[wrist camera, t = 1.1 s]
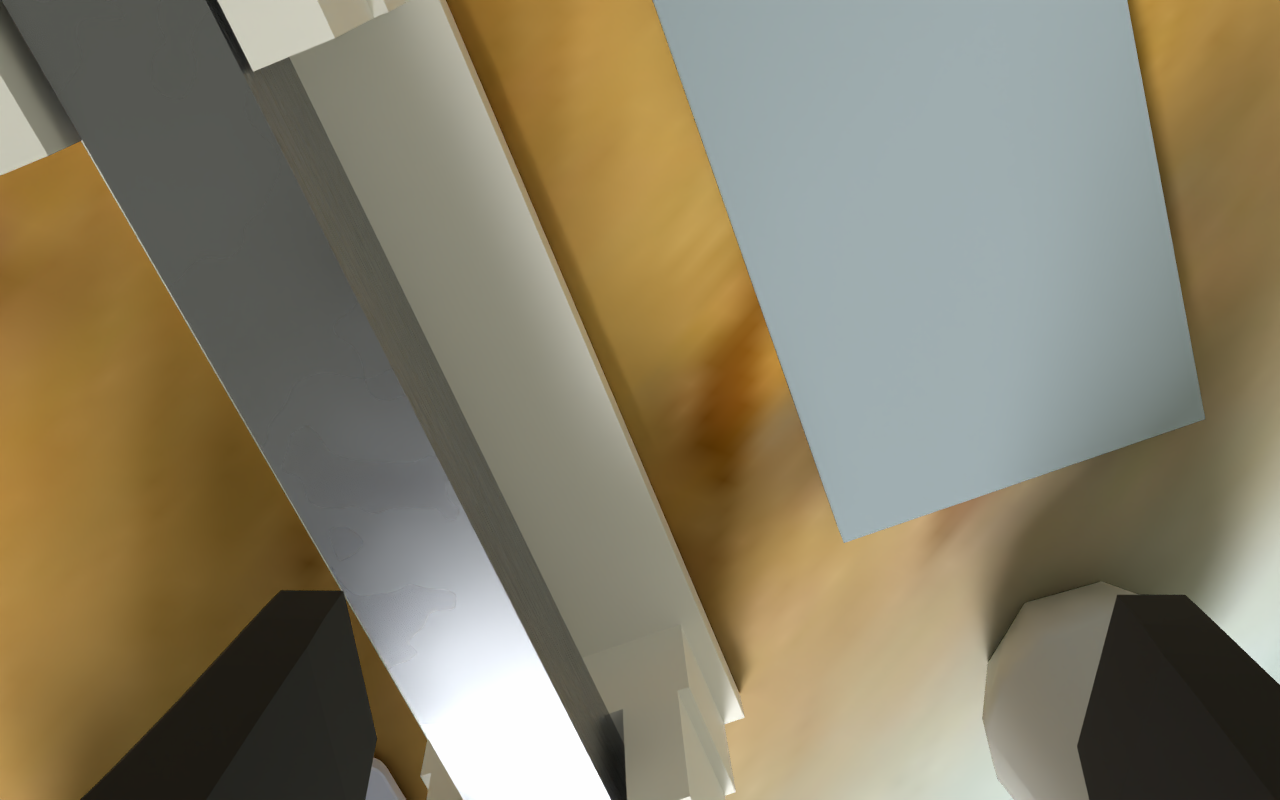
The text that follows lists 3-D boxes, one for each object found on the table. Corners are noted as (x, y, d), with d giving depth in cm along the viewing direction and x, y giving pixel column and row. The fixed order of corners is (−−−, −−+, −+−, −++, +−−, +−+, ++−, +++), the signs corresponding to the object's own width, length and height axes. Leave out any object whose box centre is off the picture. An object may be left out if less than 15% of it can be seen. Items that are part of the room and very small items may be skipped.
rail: (569, 882, 25) (567, 980, 23) (4, -149, 17) (-90, -158, 14) (675, 848, 25) (684, 944, 22) (155, -217, 16) (85, -237, 14)
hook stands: (470, 784, 28) (441, 1002, 22) (4, -32, 20) (-218, -10, 14) (740, 695, 27) (780, 897, 21) (366, -188, 19) (278, -228, 14)
